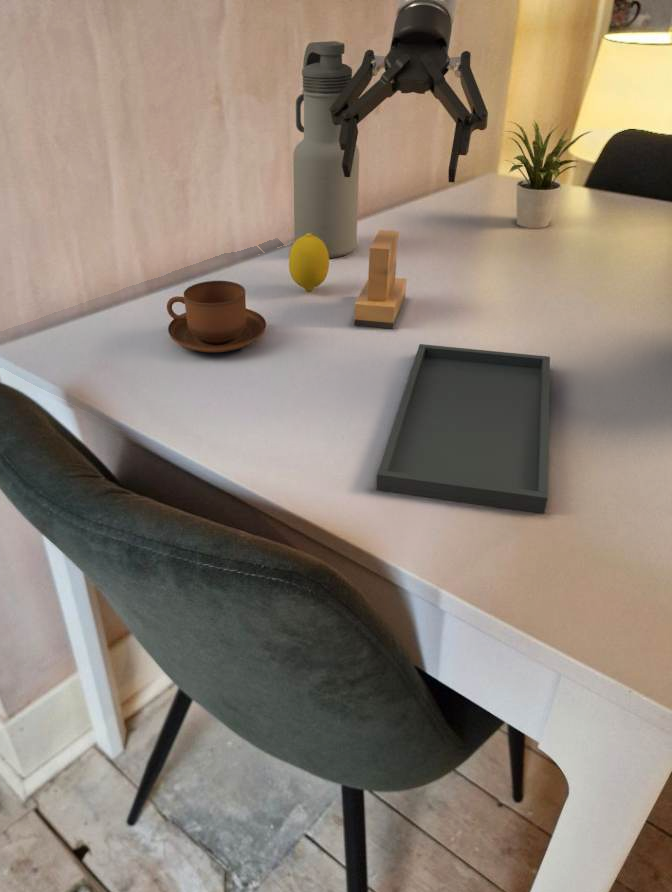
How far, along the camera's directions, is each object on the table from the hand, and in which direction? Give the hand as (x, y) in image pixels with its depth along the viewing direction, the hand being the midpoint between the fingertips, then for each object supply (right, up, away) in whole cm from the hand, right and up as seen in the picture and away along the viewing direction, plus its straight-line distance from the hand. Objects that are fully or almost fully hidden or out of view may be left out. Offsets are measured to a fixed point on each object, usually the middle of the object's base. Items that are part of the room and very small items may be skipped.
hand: (397, 174), depth 98 cm
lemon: (-11, -13, +9) cm, 19 cm away
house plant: (+26, +6, +32) cm, 41 cm away
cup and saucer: (-23, -22, -3) cm, 32 cm away
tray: (+5, -34, -20) cm, 40 cm away
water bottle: (-8, -2, +23) cm, 25 cm away
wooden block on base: (-2, -17, +3) cm, 17 cm away
